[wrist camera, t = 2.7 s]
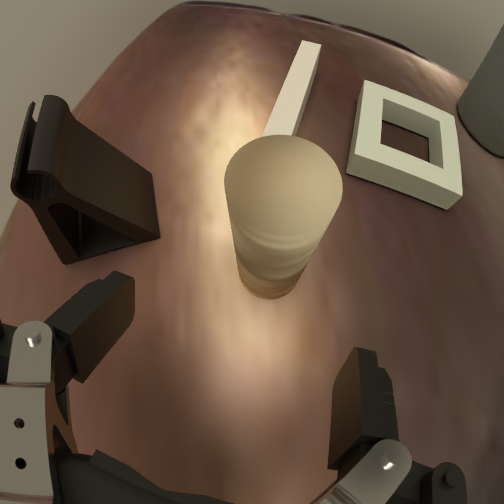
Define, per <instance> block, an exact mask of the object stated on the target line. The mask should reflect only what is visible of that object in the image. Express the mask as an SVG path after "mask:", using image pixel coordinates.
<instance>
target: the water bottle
mask: <svg viewBox="0 0 504 504" xmlns="http://www.w3.org/2000/svg"><path fill="white" fill-rule="evenodd" d="M458 112H459V115H460V118H461V120H462V122H463V124H464V125H465V127H466V128H467V130H468V131H469V132H470V134H471V135H472V136H473V137H474V138H475V139H476V140H477V141H478V142H479V143H480V144H481V145H482V146H483V147H485V148H486V149H487V150H489V151H490V152H492V153H494V154H496V155H498V156H504V25H503V26H502V28H501V30H500V32H499V34H498V35H497V37H496V39H495V41H494V43H493V44H492V46H491V48H490V50H489V51H488V53H487V55H486V57H485V58H484V60H483V62H482V63H481V65H480V67H479V68H478V70H477V72H476V73H475V75H474V77H473V78H472V80H471V81H470V83H469V85H468V86H467V88H466V89H465V91H464V93H463V94H462V96H461V97H460V99H459V101H458Z"/></svg>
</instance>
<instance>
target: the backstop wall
mask: <svg viewBox="0 0 504 504" xmlns="http://www.w3.org/2000/svg"><path fill="white" fill-rule="evenodd" d="M320 49H321V45H320V44H316V43H312V42H307V41H303V40H302V42H301V45H300V47H299V49H298V52H297V54H296V56H295V59H294V61H293V63H292V66H291V68H290V70H289V73H288V75H287V77H286V80H285V82H284V85H283V87H282V89H281V92H280V94H279V97H278V99H277V101H276V104H275V106H274V109H273V111H272V114H271V116H270V118H269V121H268V123H267V126H266V128H265V131H264V133H263V136H262V137H264V136H269V135H291V136H296V135H297V132H298V128H299V125H300V122H301V119H302V116H303V113H304V109H305V106H306V103H307V100H308V97H309V94H310V90H311V87H312V84H313V81H314V78H315V74H316V71H317V65H318V60H319V55H320Z"/></svg>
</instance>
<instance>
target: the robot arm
mask: <svg viewBox="0 0 504 504" xmlns="http://www.w3.org/2000/svg"><path fill="white" fill-rule="evenodd" d="M134 314H135V281H134V278H133V277H131V276H128V275H125V274H123V273H120V272H118V271H113V272H112V273H110V274H109V275H108V276H107V277H106V278H105V279H103V280H101V279H98V280H95V281H93V282H91V283H88V284H86V285H85V286H84V287H83V288H82V289H80V290H79V291H78V293H76V294H75V295H73V296H72V297H71V299H70V300H68V301H67V302H65V303H64V304H63V305H62V306H61V307H60V308H59V309H58V310H56V311H55V312H54V313H53V314H52V315H51V316H50V317H49V318H48V319H46V320H45V321H44V322H41V321H29V322H26V323H24V324H22V325H20V326H19V327H14V326H11V325H7V324H3V323H1V320H0V504H233V503H229V502H225V501H222V500H218V499H215V498H211V497H208V496H204V495H194V494H186V493H178V492H171V491H166V490H162V489H160V488H159V487H157V486H156V485H154V484H153V483H152V482H150V481H149V480H147V479H146V478H145V477H143V476H142V475H141V474H139V473H138V472H137V471H135V470H134V469H133V468H131V467H130V466H128V465H126V464H124V463H122V462H120V461H118V460H116V459H114V458H112V457H110V456H108V455H106V454H104V453H103V452H101V451H99V450H97V449H96V451H95V453H94V454H93V456H91V455H86V454H79V453H78V449H77V445H76V442H75V439H74V436H73V431H72V423H71V413H70V400H69V387H68V383H69V382H70V380H71V379H72V378H73V379H75V380H77V381H78V382H80V383H82V384H83V383H84V381H85V380H86V379H87V378H88V376H89V375H90V374H91V373H92V371H93V370H94V369H95V368H96V366H97V365H98V364H99V363H100V361H101V360H102V359H103V358H104V356H105V355H106V354H107V353H108V351H109V350H110V349H111V348H112V347H113V345H114V344H115V343H116V342H117V340H118V339H119V338H120V337H121V336H122V334H123V333H124V332H125V331H126V330H127V328H128V327H129V326H130V324H131V323H132V320H133V318H134ZM327 469H331V470H338V477H337V479H336V480H335V481H333V482H332V483H331V484H330V485H329V486H328V487H327V488H326V489H325V490H324V491H323V492H322V493H320V494H319V495H318V496H317V497H316V498H315V499H314V500H312V501H311V502H310V503H309V504H467V494H466V483H465V477H464V474H463V472H462V470H461V469H460V468H459V467H458V466H457V465H455V464H453V463H450V462H444V463H441V464H439V465H438V466H437V467H435V468H434V469H433V468H430V467H427V466H425V465H422V464H419V463H417V462H415V461H413V460H412V459H411V455H410V452H409V451H408V449H407V448H406V447H405V446H404V445H403V444H401V443H400V442H399V438H398V428H397V418H396V410H395V405H394V395H393V388H392V381H391V379H390V377H389V375H388V374H387V372H386V370H385V369H384V368H379V367H378V361H377V355H376V352H375V351H371V350H367V349H363V348H358V347H354V348H353V349H352V351H351V353H350V354H349V356H348V358H347V360H346V361H345V363H344V365H343V367H342V368H341V370H340V372H339V373H338V375H337V377H336V379H335V382H334V386H333V392H332V412H331V429H330V443H329V456H328V467H327Z"/></svg>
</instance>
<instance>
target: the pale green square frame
mask: <svg viewBox="0 0 504 504" xmlns="http://www.w3.org/2000/svg"><path fill="white" fill-rule="evenodd" d="M382 120H385V121H388V122H390V123H393V124H396V125H398V126H401V127H403V128H406V129H408V130H411V131H413V132H416V133H418V134H421V135H423V136H425V137H428V138H429V163H428V162H426V161H424V160H421V159H419V158H416V157H414V156H411V155H409V154H406V153H404V152H401V151H398V150H396V149H393V148H390V147H388V146H385V145H382V144H380V138H381V125H382ZM346 173H347V174H351V175H354V176H357V177H360V178H363V179H366V180H369V181H372V182H375V183H377V184H380V185H383V186H386V187H389V188H391V189H394V190H397V191H400V192H402V193H405V194H408V195H410V196H413V197H416V198H418V199H421V200H423V201H426V202H428V203H431V204H433V205H436V206H438V207H441V208H443V209H445V210H448V209H449V208H450V207H451V206H452V205H453V204H454V203H455V202H456V201H458V200H459V199H460V198H461V197H462V179H461V166H460V156H459V147H458V140H457V132H456V126H455V119H454V116H452V115H450V114H448V113H446V112H444V111H442V110H440V109H438V108H435V107H433V106H431V105H429V104H427V103H424V102H422V101H420V100H417V99H415V98H412V97H410V96H408V95H405V94H402V93H400V92H397V91H395V90H392V89H389V88H387V87H384V86H381V85H378V84H375V83H372V82H370V81H367V80H364V83H363V86H362V89H361V91H360V94H359V97H358V102H357V109H356V116H355V122H354V129H353V135H352V141H351V147H350V153H349V158H348V164H347V170H346Z"/></svg>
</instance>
